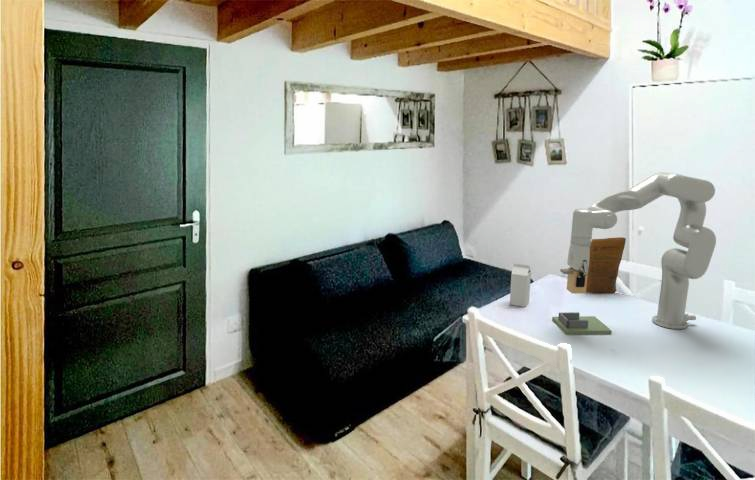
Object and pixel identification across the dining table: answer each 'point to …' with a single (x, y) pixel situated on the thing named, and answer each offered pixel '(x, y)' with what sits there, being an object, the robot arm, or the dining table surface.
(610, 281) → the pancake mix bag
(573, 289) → the tan wooden block
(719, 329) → the dining table surface
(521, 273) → the milk carton
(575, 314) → the green base plate
